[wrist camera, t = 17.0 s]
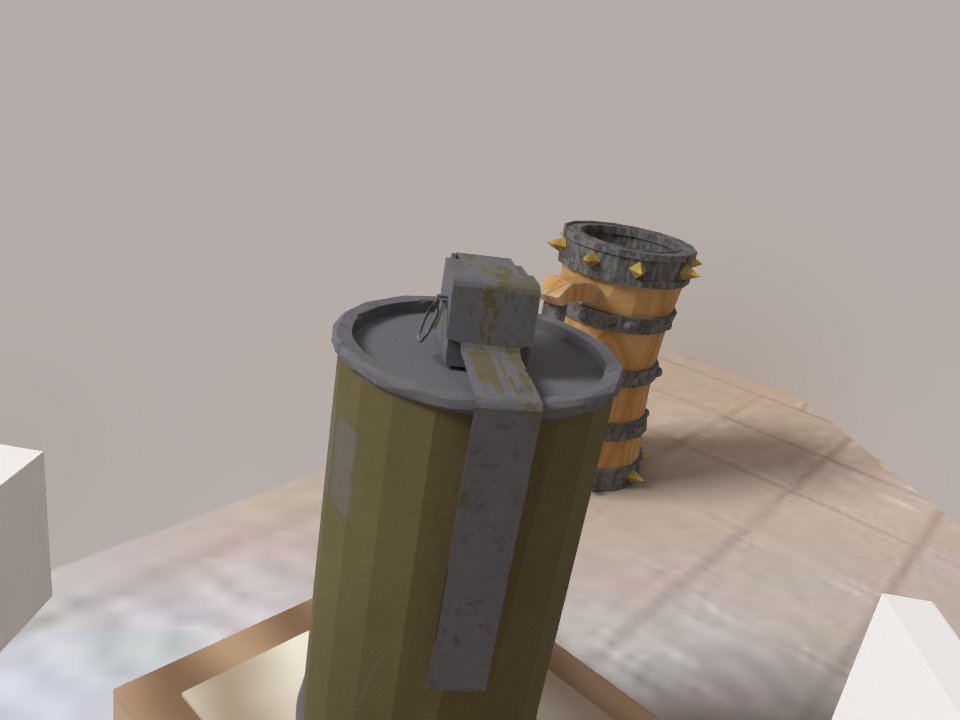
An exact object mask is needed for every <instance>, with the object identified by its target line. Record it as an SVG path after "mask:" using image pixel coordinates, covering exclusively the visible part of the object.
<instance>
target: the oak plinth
mask: <svg viewBox="0 0 960 720" xmlns="http://www.w3.org/2000/svg"><path fill="white" fill-rule="evenodd" d="M312 600H313V598H312V599H310V600H308V601H306V602H304V603H301V604H299V605H297V606H295V607H293V608H290V609H288V610H286V611H284V612H282V613H279V614H277V615H275V616H273V617H271V618H269V619H266V620H264V621H262V622H260V623H258V624H255V625H253V626H251V627H249V628H247V629H244V630H242V631H240V632H238V633H236V634H234V635H231V636H229V637H227V638H225V639H223V640H220V641H218V642H216V643H214V644H212V645H210V646H207V647H205V648H203V649H201V650H199V651H196V652H194V653H192V654H190V655H188V656H185V657H183V658H181V659H179V660H177V661H175V662H172V663H170V664H168V665H166V666H164V667H161V668H159V669H157V670H155V671H153V672H150V673H148V674H146V675H144V676H142V677H140V678H137V679H135V680H133V681H131V682H129V683H126V684H124V685H122V686H120V687H118V688H115V689H113V697H114V720H296V702H297V697H298V693H299V690H300V687H301V684H302V681H303V678H304V675H305V667H306V658H307V648H308V638H309V629H310V619H311V609H312ZM536 719H537V720H660V719H659V718H658V717H656V716H655V715H654V714H652V713H651V712H649V711H648V710H647V709H645V708H644V707H643V706H641V705H640V704H639V703H637V702H636V701H634V700H633V699H632V698H630V697H629V696H628V695H626V694H625V693H623V692H622V691H621V690H619V689H618V688H617V687H615V686H614V685H613V684H611V683H610V682H608V681H607V680H606V679H604V678H603V677H602V676H600V675H599V674H597V673H596V672H595V671H593V670H592V669H591V668H589V667H588V666H586V665H585V664H584V663H582V662H581V661H580V660H578V659H577V658H576V657H574V656H573V655H571V654H570V653H569V652H567V651H566V650H565V649H563V648H562V647H560V646H559V645H558V644H556V643H555V642H554V646H553V650H552V654H551V658H550V662H549V667H548V671H547V675H546V679H545V683H544V687H543V691H542V695H541V699H540V703H539V708H538V712H537V716H536Z"/></svg>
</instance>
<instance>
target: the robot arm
mask: <svg viewBox="0 0 960 720" xmlns="http://www.w3.org/2000/svg"><path fill="white" fill-rule="evenodd" d="M51 596H52V584H51V568H50V552H49V535H48V519H47V504H46V486H45V470H44V454H43V451H37V450H31V449H25V448H19V447H13V446H7V445H1V444H0V652H1V651H2V650H3V649H4V648H5V646H6V645H7V644H8V643H9V642H10V641H11V640H12V639H13V638H14V637H15V636H16V634H17V633H18V632H19V631H20V630H21V629H22V628H23V627H24V626H25V625H26V624H27V623H28V621H29V620H30V619H31V618H32V617H33V616H34V615H35V614H36V613H37V612H38V611H39V609H40V608H41V607H42V606H43V605H44V604H45V603H46V602H47V601H48V600H49V599H50V597H51ZM831 720H960V640H959V638H958V637H957V636H956V634H955V633H954V631H953V630H952V629H951V627H950V626H949V624H948V623H947V622H946V620H945V619H944V617H943V616H942V615H941V613H940V612H939V610H938V609H937V608H936V606H935V605H934V603H933V602H931V601H925V600H919V599H913V598H907V597H901V596H895V595H889V594H883V593H882V595H881V598H880V600H879V603H878V605H877V608H876V610H875V613H874V615H873V618H872V620H871V623H870V625H869V628H868V630H867V633H866V635H865V638H864V640H863V642H862V645H861V647H860V650H859V652H858V655H857V657H856V660H855V662H854V665H853V667H852V670H851V672H850V675H849V677H848V680H847V682H846V685H845V687H844V690H843V692H842V695H841V697H840V700H839V702H838V705H837V707H836V710H835V712H834V715H833V717H832V719H831Z"/></svg>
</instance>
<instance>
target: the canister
mask: <svg viewBox="0 0 960 720" xmlns="http://www.w3.org/2000/svg"><path fill="white" fill-rule="evenodd" d="M540 295H541V288H540V285H539V283H538V282H537V281H536V279H535V278H534V277H533V276H529V275H528V274H527V273H526V272H525V271H524V269H523V267H522V266H515V264H514V263H513V262H512V260H511V259H507V258H499V257H490V256H482V255H473V254H465V253H456V254H454V253H453V254H452V255H451V258H446V262H445V268H444V275H443V282H442V289H441V294H437V295H436V297H435V296H434V297H433V296H400V297H393V298H388V299H382V300H376V301H371V302H365V303H363V304H361V305H359V306H357V307H355V308H353V309H351V310H349V311H347V312H345V313H344V314H343V315H341V317H340V318H339V319H338V320H337V321H336V322H335V324H334V325H333V332H332V343H333V345H334V348H335V351H336V353H337V354H338V357H337V367H336V377H335V386H334V396H333V406H332V416H331V425H330V435H329V445H328V454H327V464H326V474H325V483H324V493H323V503H322V512H321V522H320V532H319V541H318V551H317V561H316V571H315V580H314V590H313V600H312V609H311V619H310V629H309V638H308V648H307V658H306V667H305V675H304V678H303V681H302V684H301V687H300V690H299V693H298V697H297V702H296V720H537V719H536V716H537V712H538V708H539V703H540V699H541V695H542V691H543V687H544V683H545V679H546V675H547V671H548V667H549V662H550V658H551V654H552V650H553V646H554V642H555V638H556V634H557V630H558V626H559V621H560V617H561V613H562V609H563V605H564V601H565V597H566V593H567V589H568V585H569V581H570V576H571V572H572V568H573V564H574V560H575V556H576V552H577V548H578V544H579V540H580V535H581V531H582V527H583V523H584V519H585V515H586V511H587V507H588V503H589V499H590V495H591V490H592V486H593V482H594V478H595V474H596V470H597V466H598V462H599V458H600V454H601V449H602V445H603V441H604V437H605V433H606V429H607V425H608V421H609V417H610V413H611V408H612V404H613V400H614V398H615V397H616V396H617V395H618V394H619V392H620V390H621V389H622V385H623V369H622V366H621V364H620V363H619V361H618V359H617V358H616V356H615V355H614V354H613V353H612V351H611V350H610V349H609V348H608V347H607V346H606V345H605V344H603V343H602V342H600V341H598V340H597V339H595V338H594V337H592V336H590V335H589V334H587V333H586V332H584V331H582V330H580V329H578V328H575V327H573V326H571V325H569V324H566V323H564V322H562V321H560V320H557V319H555V318H552V317H548V316H545V315H541V314H538V309H539V302H540Z"/></svg>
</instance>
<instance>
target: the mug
mask: <svg viewBox="0 0 960 720" xmlns="http://www.w3.org/2000/svg"><path fill="white" fill-rule="evenodd" d="M563 231H564V232H561V235H563V238H560V239H557V240H554V241H551V242H548V244H550V245H551V246H553V247H554V248H555V249H557V250H558V251H559V256H558V257H559V258H558V260H559V261H560V262H561V263H563V264H562V275H551V276H548V277H547V278H546V279H545V280H544V281H543V282H542V283H541V284H540V288H541V295H540V298H541V299H542V300H544V304H543V309H542V314H541V315H545V316H548V317H552V318H555V319H557V320H560V321H562V322H564V323H566V324H569V325H571V326H573V327H575V328H578V329H580V330H582V331H584V332H586V333H587V334H589V335H590V336H592V337H594V338H595V339H597V340H598V341H600V342H602V343H603V344H605V345H606V346H607V347H608V348H609V349H610V350H611V351H612V353H613V354H614V355H615V356H616V358H617V359H618V361H619V363H620V364H621V366H622V369H623V385H622V389H621V390H620V392H619V394H618V395H617V396H616V397H615V398H614V400H613V404H612V408H611V413H610V417H609V421H608V425H607V429H606V433H605V437H604V441H603V445H602V449H601V454H600V458H599V462H598V466H597V470H596V474H595V478H594V482H593V486H592V490H591V491H615V490H618V489H621V488H624V487H627V486H630V485H631V484H632V483H633V482H636V481H644V480H643V479H642V478H641V477H640V476H639V475H638V467H639V463H640V461H641V460H643V459H646V458H650V457H649V456H648V455H646V454H645V453H643V452H642V451H641V446H640V444H641V436H642V434H643V433H644V432H645V431H646V427H647V417H648V416H649V410H648V409H646V403H647V398H648V393H649V388H650V383H652V382H653V381H654V380H655V378H656V377H659V376H661V374H662V369H661V368H660V367H658V366H659V363H658V360H657V356H658V353H659V350H660V347H661V343H662V340H663V337H664V334H665V331H666V330H669V329H671V327H672V322H673V319H674V317H675V316H676V314H677V312H676V309H675V304H676V302H677V299H678V297H679V294H680V291H681V289H682V288H683V287H685V286H686V285H688V284H689V282H690V279H691V278H696V277H700V276H699V275H698V274H697V273H696V272H695V271H694V270H693V269H692V268H693V267H696V266H699V265H702V263H700V262H699V261H698V260H696V255H697V251H696V250H695V249H694V247H693V246H692V245H690V244H688V243H685V242H684V241H682V240H679V239H677V238H674V237H671V236H668V235H665V234H662V233H658V232H654V231H650V230H646V229H642V228H638V227H633V226H627V225H621V224H616V223H608V222H598V221H572V222H568V223H565V225H564V230H563Z"/></svg>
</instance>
